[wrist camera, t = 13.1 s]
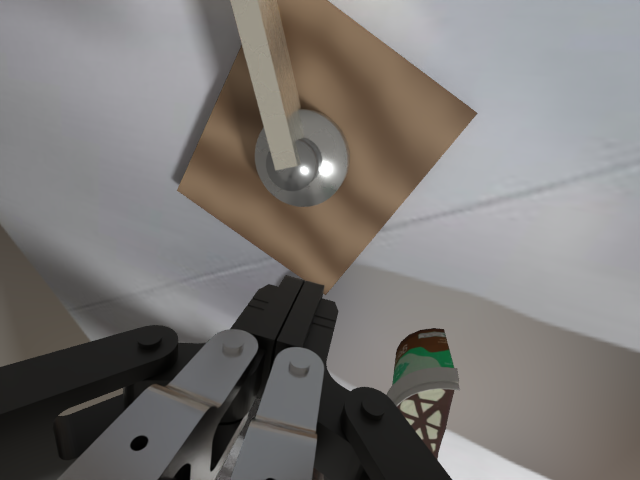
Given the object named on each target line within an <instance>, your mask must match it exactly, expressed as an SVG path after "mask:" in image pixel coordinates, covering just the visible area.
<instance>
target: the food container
mask: <svg viewBox="0 0 640 480" xmlns="http://www.w3.org/2000/svg"><path fill="white" fill-rule="evenodd" d="M454 390H460V389H459V378H458V371H457V368H454V365H453V362H452V358H451V354H450V350H449V346H448V343H447V339H446V335H445V332H444V329H436V328H432V329H425V330H420V331H417V332H415V333H412V334H410V335H408V336H407V337H406V338H405V339H404V340H403V341H401V343H400V345H399V346H398V348H397V352H396V359H395V367H394V376H393V384H392V387H391V388H390V390H389V391H388V393H387V396H388V397H389V398H390V399H391V400H392V401H393V402H394V404H395V405H396V406H397V408H398V409H399V410H400V412H401V413H402V414H403V416H404V417H405V418H406V420H407V421H408V422H409V424H410V425H411V426H412V427H413V429H414V430H415V431H416V433H417V434H418V435H419V437H420V438H421V439H422V441H423V442H424V443H425V445H426V446H427V447H428V449H429V450H430V451H431V452H432V454H433V455H434V456H435V458H436V459H437V458H438V452H439V448H440V445H441V441H442V438H443V435H444V432H445V429H446V425H447V419H448V415H449V410H450V406H451V402H452V398H453V394H454Z"/></svg>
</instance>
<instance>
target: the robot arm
mask: <svg viewBox="0 0 640 480" xmlns="http://www.w3.org/2000/svg"><path fill="white" fill-rule="evenodd" d="M324 286H325V285H322V284H318V283H314V282H310V281H305V280H302V279H299V278H294V277H291V276H287V275H286V276H285V277H284V279H283V280H282V282H281V283H280V285H279V287H277V286H274V285H270V284H268V285H266V286H265V287H263V288H261V289H259V290H258V291H257V292H256V294H255V295H254V297H253V299H251V301H250V302H249V304H248V306H246V308H245V309H244V311H243V312H242V313H241V315H240V316H239V317H238V319H237V320H236V322H235V323H234V324H233V326H232V327H231V329H229V330H224V331H221V332H219V333H217V334H215V335H214V336H213V337H212V338H211V339H210V340H209V341H208V342H207V343H202V344H194V343H178V336H177V334H176V333H175V331H173V330H172V329H170V328H168V327H165V326H159V325H152V326H145V327H141V328H138V329H134V330H131V331H127V332H123V333H120V334H116V335H113V336H109V337H106V338H102V339H99V340H95V341H91V342H88V343H84V344H81V345H77V346H74V347H70V348H67V349H63V350H59V351H56V352H52V353H49V354H45V355H42V356H38V357H35V358H31V359H27V360H24V361H20V362H17V363H13V364H10V365H6V366H3V367H0V480H216V479H217V477H218V475H219V473H220V471H221V469H222V467H223V465H224V463H225V461H226V458H227V456H228V454H229V452H230V450H231V449H232V447H233V445H234V443H235V441H236V439H237V438H238V436H239V434H240V432H241V430H242V429H243V427H244V425H245V423H246V421H247V419H248V414H249V412H250V409H251V407H252V405H253V403H254V401H255V399H256V397H257V398H260V399H261V402H260V405H259V408H258V411H257V414H256V417H255V418H252V420H251V422H250V425H249V427H248V430H247V433H246V436H245V438H244V441H243V444H242V447H241V450H240V453H239V456H238V459H237V461H236V464H235V467H234V470H233V473H232V476H231V479H230V480H312V474H313V467H314V468H315V469H316V470H318V471H319V472H320V473H322V474H323V475H324V480H452V479H451V478H450V476H449V475H448V474H447V472H446V471H445V470H444V468H443V467H442V466H441V464H440V463H439V462H438V460H437V459H436V458H435V456H434V455H433V454H432V452H431V451H430V450H429V449H428V447H427V446H426V445H425V443H424V442H423V441H422V439H421V438H420V437H419V435H418V434H417V433H416V431H415V430H414V429H413V427H412V426H411V425H410V424H409V422H408V421H407V420H406V418H405V417H404V416H403V414H402V413H401V412H400V410H399V409H398V408H397V406H396V405H395V404H394V402H393V401H392V400H391V399H390V398H389V397H388V396H387V395H385V394H384V393H382V392H381V391H379V390H376V389H374V388H369V387H360V388H356V389H353V390H352V391H349V390H347V389H345V388H344V387H342V386H341V385H339V384H338V383H337V382H336V381H335V380H334V379H333V378H332V377H331V376H330V374H329V372H328V370H327V366H326V361H327V356H328V352H329V347H330V344H331V339H332V335H333V331H334V327H335V323H336V319H337V315H338V309H337V307H336V304H335V302H333V301H330V300H325V299H322V295H323V291H324ZM121 388H123V394H121V395H119V396H116V397H113V398H111V399H108V400H106V401H103V402H101V403H98V404H96V405H93V406H91V407H88V408H85V409H83V410H80V411H77V412H75V413H72V414H70V415H66V416H58V415H59V414H60V413H62V412H63V411H65V410H66V409H68V408H70V407H73V406H76V405H79V404H81V403H84V402H86V401H89V400H92V399H94V398H97V397H100V396H102V395H105V394H108V393H110V392H113V391H116V390H118V389H121Z"/></svg>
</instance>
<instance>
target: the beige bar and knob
mask: <svg viewBox="0 0 640 480" xmlns="http://www.w3.org/2000/svg"><path fill="white" fill-rule="evenodd" d="M230 2H231V5H232V9H233V13H234V17H235V20H236V24H237V28H238V32H239V35H240V39H241V43H242V47H243V50H244V54H245V58H246V62H247V65H248V69H249V73H250V77H251V81H252V84H253V88H254V92H255V96H256V99H257V103H258V107H259V111H260V114H261V118H262V122H263V126H264V128H263V129H262V131H261V132H260V134H259V137H258V139H257V143H256V147H255V164H256V169H257V172H258V175H259V177H260V179H261V181H262V183H263V184H264V186H265V187H266V188H267V190H268V191H269V192H270V193H271V194H272V195H273V196H275V197H276V198H277V199H279V200H280V201H282V202H284V203H286V204H289V205H292V206H298V207H309V206H314V205H318V204H320V203H322V202H324V201H326V200H327V199H329V198H330V197H331V196H332V195H333V194H334V193H335V192H336V191H337V190H338V189H339V187H340V186H341V184H342V183H343V181H344V180H345V178H346V175H347V173H348V169H349V164H350V152H349V146H348V142H347V140H346V137H345V135H344V133H343V132H342V130H341V129H340V127H339V126H338V125H337V124H336V123H335V122H334V121H333V120H332V119H331V118H329V117H328V116H326V115H325V114H323V113H320V112H318V111H314V110H308V109H301V106H300V101H299V97H298V92H297V88H296V84H295V79H294V75H293V70H292V66H291V62H290V57H289V53H288V48H287V44H286V39H285V35H284V31H283V26H282V22H281V17H280V13H279V9H278V4H277V0H230Z"/></svg>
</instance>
